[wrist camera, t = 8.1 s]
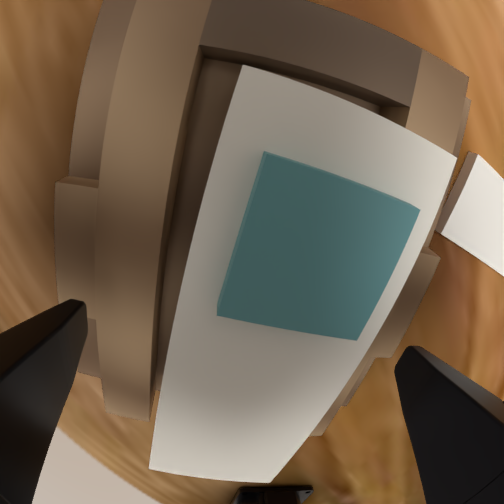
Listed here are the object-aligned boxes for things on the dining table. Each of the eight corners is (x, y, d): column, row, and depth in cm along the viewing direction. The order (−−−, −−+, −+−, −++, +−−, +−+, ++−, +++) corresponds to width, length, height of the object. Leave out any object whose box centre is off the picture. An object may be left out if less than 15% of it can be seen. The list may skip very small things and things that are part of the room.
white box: (258, 392, 14) (270, 491, 9) (163, 375, 13) (147, 477, 9) (364, 135, 10) (468, 161, 5) (235, 89, 9) (244, 60, 4)
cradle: (341, 393, 16) (356, 434, 14) (84, 359, 14) (65, 401, 11) (456, 99, 10) (504, 103, 8) (113, 5, 8) (82, -22, 5)
